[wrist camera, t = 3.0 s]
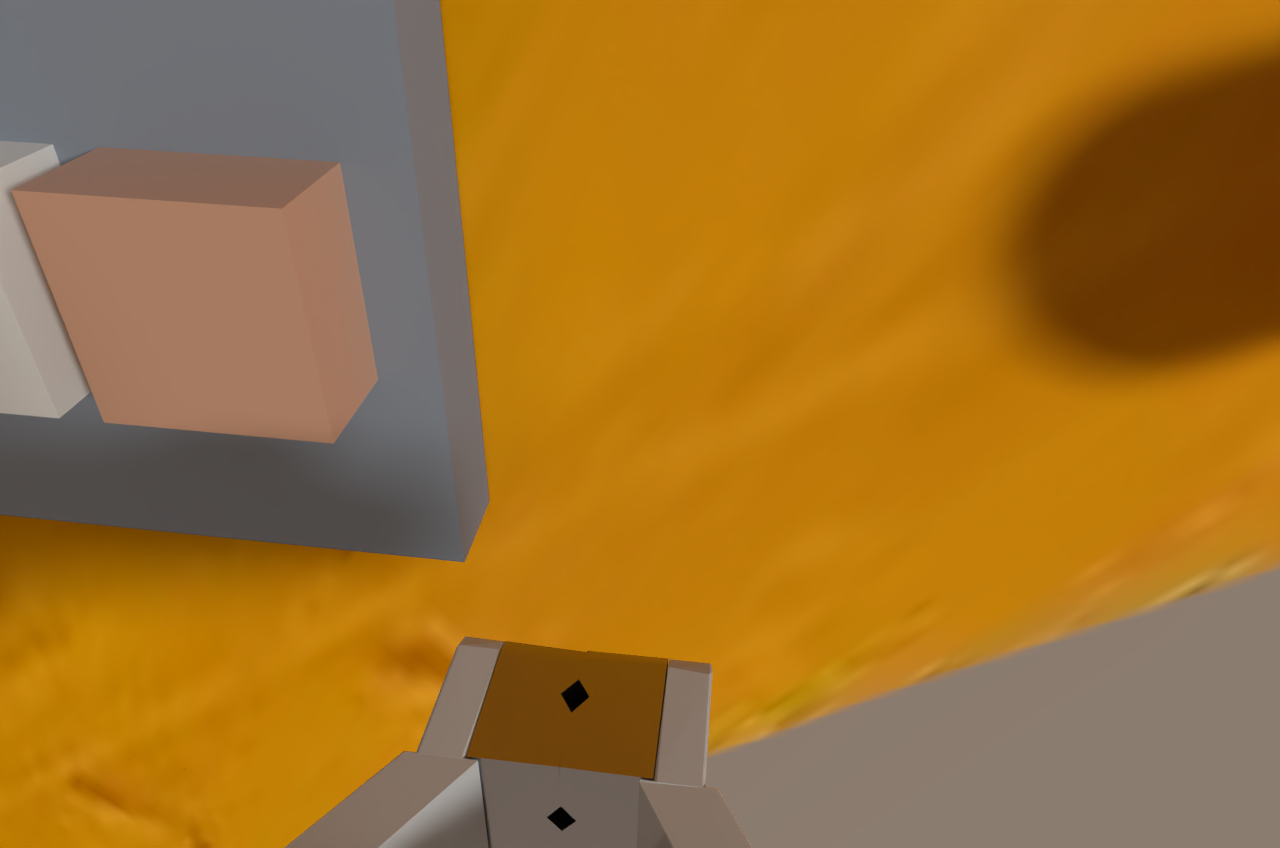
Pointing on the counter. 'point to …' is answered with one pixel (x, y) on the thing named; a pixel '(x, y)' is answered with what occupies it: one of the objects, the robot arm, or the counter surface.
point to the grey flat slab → (384, 243)
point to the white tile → (31, 304)
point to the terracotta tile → (207, 289)
